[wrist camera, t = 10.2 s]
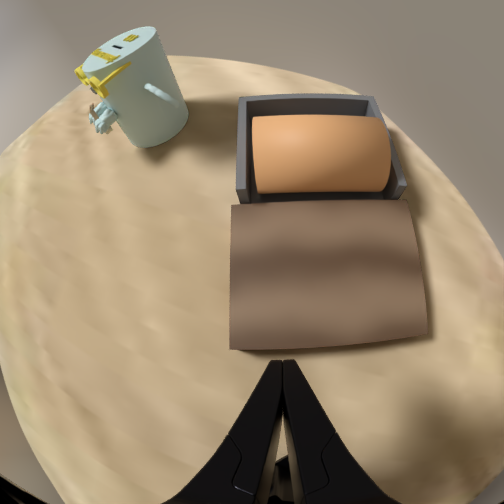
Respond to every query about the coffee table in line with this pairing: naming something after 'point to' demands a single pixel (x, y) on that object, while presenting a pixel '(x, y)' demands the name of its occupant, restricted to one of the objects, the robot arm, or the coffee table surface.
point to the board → (324, 274)
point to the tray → (305, 106)
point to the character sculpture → (135, 88)
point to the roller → (320, 153)
